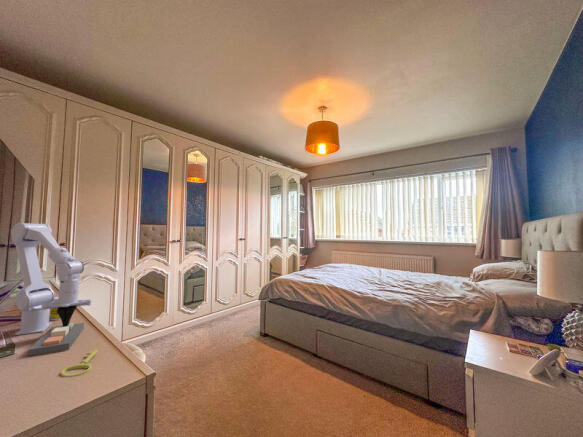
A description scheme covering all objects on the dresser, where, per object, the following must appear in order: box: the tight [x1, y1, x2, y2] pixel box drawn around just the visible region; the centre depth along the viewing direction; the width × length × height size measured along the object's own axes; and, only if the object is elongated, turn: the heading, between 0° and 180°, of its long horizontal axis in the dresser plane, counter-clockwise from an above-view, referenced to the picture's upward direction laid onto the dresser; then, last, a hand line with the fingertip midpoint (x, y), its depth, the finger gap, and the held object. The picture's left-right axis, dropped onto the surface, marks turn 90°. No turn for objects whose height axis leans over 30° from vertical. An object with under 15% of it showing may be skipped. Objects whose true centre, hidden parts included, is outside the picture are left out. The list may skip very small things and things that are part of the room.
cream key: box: [51, 326, 69, 337], centre depth 88 cm, size 4×4×2 cm
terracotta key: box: [43, 336, 63, 346], centre depth 83 cm, size 4×4×2 cm
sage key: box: [58, 322, 75, 330], centre depth 94 cm, size 4×4×2 cm
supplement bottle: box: [49, 296, 61, 321], centre depth 108 cm, size 5×5×10 cm
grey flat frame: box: [27, 322, 85, 357], centre depth 88 cm, size 20×10×2 cm, turn 30°
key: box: [60, 349, 99, 378], centre depth 73 cm, size 7×12×2 cm, turn 31°
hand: (65, 325), depth 94 cm, fingers closed, pressing on sage key
